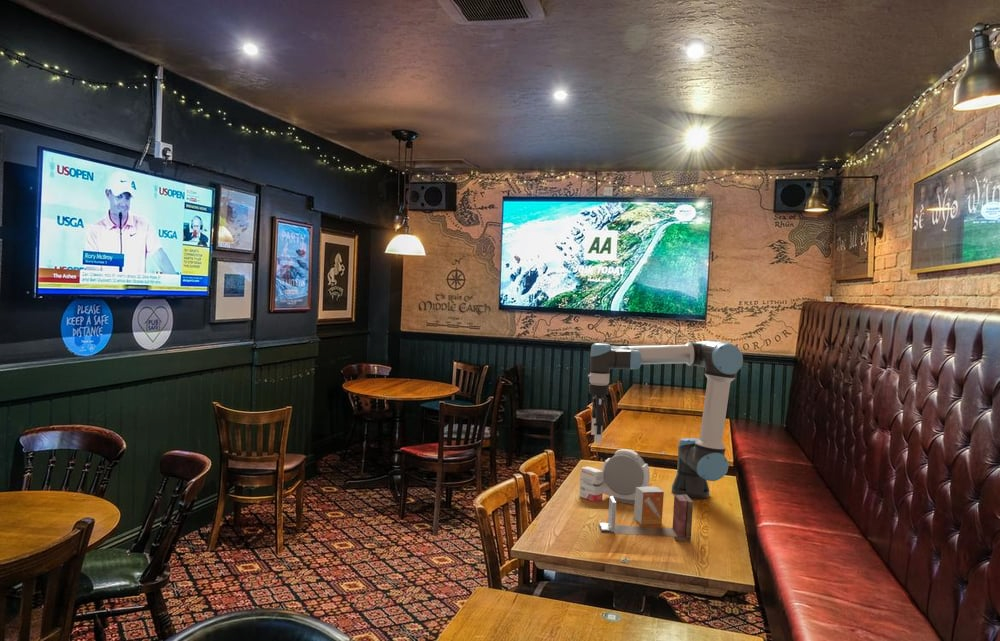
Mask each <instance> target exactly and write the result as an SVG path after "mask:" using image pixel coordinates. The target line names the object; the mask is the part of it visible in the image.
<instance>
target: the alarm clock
mask: <svg viewBox="0 0 1000 641" xmlns="http://www.w3.org/2000/svg"><path fill="white" fill-rule="evenodd" d="M601 467H602V468H601V471H604V474H603V494H604V495H607V496H609V497H610V496H613V497H614V499H615V501H616V503H623V504H629V505H633V506H635V493H636V487H650V486H649V485H650V477H651V476H650V474H651V473H650V467H649V464H648V463H646V462H645V461H644V459H643V458H642V457H641V456H640V455H639V452H638V453H637V452H636V451H635V450H632V449H626V448H622V449H618V450H616V451H615V453H614V455H613V456H611V457H608V458H607V459H605V460H604V462H603V464H602V466H601Z"/></svg>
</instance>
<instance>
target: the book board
mask: <svg viewBox="0 0 1000 641" xmlns="http://www.w3.org/2000/svg"><path fill="white" fill-rule="evenodd" d="M673 497H674V498H673V514H672V527H661V526H660V527H659V526H643V525H642V526H639V525H624V524H622V525H620V524H615V532H611V531H602V530H601V527H600V523H597V526H598V528H599V531H600V534H616V535H632V536H633V535H634V536H635V535H636V536H651V537H652V536H653V537H656V536H657V537H668V538H669V537H672V538H674V540H675V542H683V541H684V542H685V543H688V542H689V543H691V542H692V528H693V526H692V525H693V510H694V509H693V508H694V501H693V500H692V499H691V498H689V497H688V495H685V494H682V495H676V494H674V496H673ZM684 542H683V543H684Z"/></svg>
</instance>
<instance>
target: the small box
mask: <svg viewBox="0 0 1000 641" xmlns="http://www.w3.org/2000/svg"><path fill="white" fill-rule="evenodd" d="M664 495H665V491H663V490H662V489H660V488H659V487H657V486H648V487H636V493H635V505H634V510H633V511H634V512H633V519H634V520H635V521H636V522H638V524H639V525H658V524H659V525H660V524H661V525H662V523H663V512H664Z"/></svg>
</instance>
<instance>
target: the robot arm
mask: <svg viewBox="0 0 1000 641" xmlns="http://www.w3.org/2000/svg"><path fill="white" fill-rule="evenodd" d="M589 357H590V358H589V359H590V361H589V374H588V375H587V377H588V378H589V384H588V393H589V394H590V395H592V396H593V397H592V408H591V426H590V427H591V428H590V435H591V436H594V439H593V440H594V441H593V442H594V444H602V443H603V430H604V429H603V426H604V403H605V400H604V398H603V396H607V395H609V390H610V389H609V388H610V386H609V384H610V370H611V369H614V370H616V369H617V370H630V371H631V370H638V369H640V367H641V366H642V365H663V364H665V365H666V364H668V365H669V364H673V365H674V364H686V365H687V366H689V367H691V366H696V367H702V368H704V374H703V375H705V377H706V378H707V379H706V380H707V381H706V388H705V396H704V402H703V410H702V418H701V426H700V433H699V438H697V437H696V438H695V437H694V438H692V437H685V438H684V437H683V438H680V439H679V440H678V446H677V449H678V450H677V464H676V465H677V467H676V468H677V469H676V474H675V477H674V480H673V482H672V485H671V493H672V494H674V495H682V494H685V495H688V497H689V498H690V499H691V500H692V499H693V500H694V499H695V500H703V499H704V500H705V499H708V498H709V497H710V486H709V483H708V481H709V482H717V481H718V480H721V479H722V478H724V477H725V476H726V474H727V473H728V469H729V461H728V459H727V457H726V456H725V455H726V454H725V453H726V445H724V443H723V439H724V432H725V431H724V430H725V424H726V416H727V409H728V401H729V396H730V395H729V394H730V387H731V383H732V381H734V380H736V376H737V373H738V371H740V369H741V368H742V367H743V363H744V359H743V358H744V357H743V353H742V351H741V350H740V349H739V347H737V346H736V345H735V344H732V343H730V342H726V341H725V342H724V341H720V340H719V341H718V340H714V339H713V340H712V339H711V340H700V341H692V342H691V341H688V342H686V343H685V344H668V345H667V344H666V345H626V346H624V345H623V346H622V345H621V346H619V345H618V346H617V345H611V344H609V343H603V342H602V343H601V342H599V343H597V342H596V343H593V344H592V345H591V348H590V355H589Z"/></svg>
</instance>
